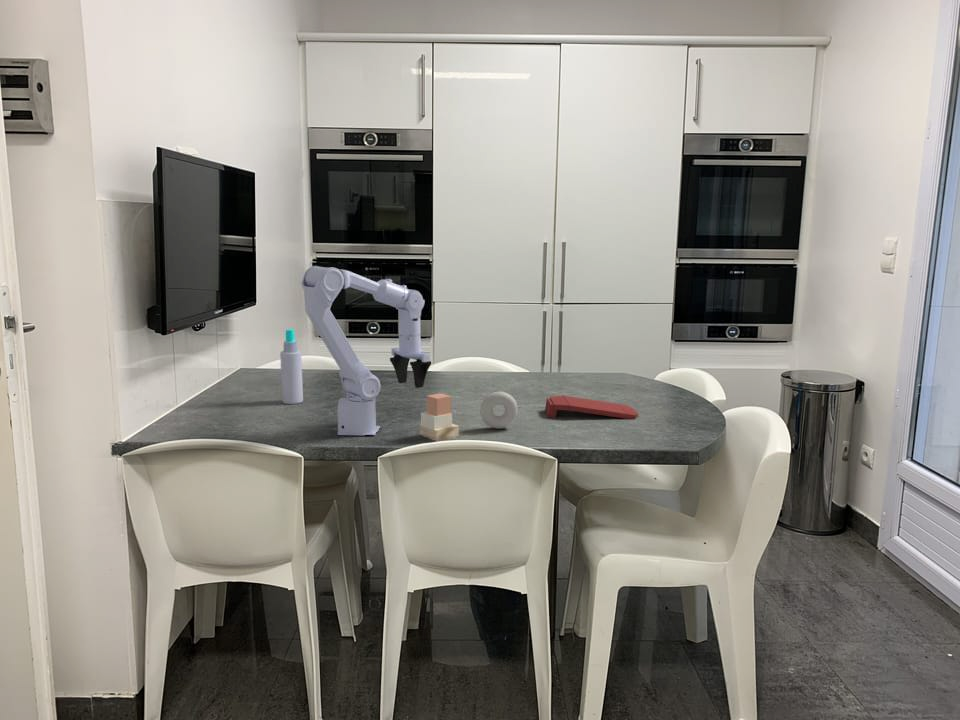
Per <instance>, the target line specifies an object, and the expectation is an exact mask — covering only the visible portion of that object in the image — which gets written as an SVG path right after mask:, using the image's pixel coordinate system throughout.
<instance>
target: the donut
mask: <svg viewBox="0 0 960 720" xmlns="http://www.w3.org/2000/svg"><path fill="white" fill-rule="evenodd" d="M497 405H502V406H503V408H504V412H503V413H502V414H501V415H495V413H494V411H493V410H494V407H495V406H497ZM479 408H480V409H479V414H480V418H481V419H482V421H483V422H484V423H485V424H486V425H487V426H488V427H490V428H492V429H498V430H500V429H504V428H507V427H509V426H511V425H512V423H514V421H515V420H516V418H517V415H518V411H519V408H518V404H517V401H516V399H515V398H514V397H513V396H512V395H511V394H510V393H507V392H505V391H494V392H491V393H489V394H488V395H486V396H485V397H484V398H483V400H482V402H481V404H480V407H479Z"/></svg>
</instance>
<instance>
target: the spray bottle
mask: <svg viewBox="0 0 960 720" xmlns="http://www.w3.org/2000/svg"><path fill="white" fill-rule="evenodd" d="M297 341H298V340H296V339H295V329H291V328H290V329H285V341H283V350H282V351H280V353H279V354H280V355H279V356H280V375H281V377H280V378H281V400H282V403H283V404H286V405H298V404H302V402H304V393H303V392H304V390H303V368H302V366H303V365H302V362H303V361H302V351H301V350H299V349H298V342H297Z"/></svg>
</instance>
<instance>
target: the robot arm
mask: <svg viewBox="0 0 960 720" xmlns="http://www.w3.org/2000/svg"><path fill="white" fill-rule="evenodd" d="M300 284H301V287H302V289H303V295H304V296H303V297H304V309H305V313H306V315H307V317H308V318H309V320H310V321H311V323H312V326H313V327H314V328H315V330H316V331H317V333H318V335H319V336H320V338H321V340H322V342H323V343H324V344H325V345H324V346H326V348H327V350H328V352H329V353H330V354H331V356H332V359H333V360H334V362H335V363H336V365H337V366H338V368H339V372H338V375H339V378H340V379H341V387H342V390H344V392H346V397H340V398H339V399H338V403H337V436H365V435H374V436H375V435H376V434H377V433H378V431H379V430H380V429H381V426H380V425H377V412H376V411H377V407H376V405H377V404H376V399H377V396H378V395H379V393H380V391H381V381H380V379H379V378H378V377H377V376H376V375H374V374H373V373H372V372H371V371H370V369H369V368H368V367H367V366H366V365H364V363H363V362H362V361H361V360H360V359H359V357H358V355H357V353H356V352H355V350H354V349H353V347H352V345H351V343H350V342H349V340H348V338H347V337H346V334H345V333H344V331H343V329H342V328H341V326H340V325H339V323H338V322H337V321H338V320H337V319H336V317H335V316H334V314H333V313H332V311H331V307H332V305H333V302H334V301H335V299H336V298H337V297H338V295H339V294H340V292H341V291H342V289H344V290H346V289H348V288H352V289H355V290H358V291H362V292H364V293H367V294H372V297H373V299H374V301H376V302H379V303H381V304H384V305H388V306H391V307H393V308H395V309H396V310H398V313H397V314H398V315H397V316H398V317H397V318H398V345H399V347H392V348H391V356H393V357H390V358H389V361H390V363H391V364H392V367H393V368H394V372H395V375H396V377H397V381H398V382H397V383H398V384H404V383H407V380H408V368H409V365H410V367H411V369H412V373H413V379H414V380H413V381H414V387H415V388H416V389H419V388H423V387H424V384H425V380H426V376H427V373H428V371H429V368H430V367H431V365H432V361H431V360H430V357H431V356H430V353H427V352H425V351H424V349H422V348H421V347H422V345H421V341H422V340H421V333H422V332H421V316H422V310H423V309H424V306H425V301H426V300H425V299H424V298H423V295H422V294H421V292H420V291H419V290H416V289H409V288H408V287H407V285H405V284H402V285H399V284H396V283H394V282H393V279H391V278H385V279H380V280H378V281H374V280H371V279H370V278H367V277H365V276H362V275H360V274H357V273H354V272H352V271H350V270H346V269H339V268H336V267H333V266H332V267H324V266H318V265H312V266H310V267H309V268H307V269H306V270H305V272H304V274H303V276H302V280H301V283H300ZM411 359H412V360H415V361H410V360H411ZM379 428H380V429H379ZM376 432H377V433H376Z"/></svg>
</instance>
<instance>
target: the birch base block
mask: <svg viewBox="0 0 960 720" xmlns="http://www.w3.org/2000/svg"><path fill="white" fill-rule="evenodd" d="M459 429H460V426H459V425H458V424H454V423H452V426H450V427H445V428H440V429H435V430H434V429H431V428H428V427H425V426H422V425H421V424H419V436H420V435H423V436H426V437H429V438H431V439H435V441H434V442H436V441H437V442H439V441H438V440H441V441H445V439H446V440H448V439H447V438H450V439H452V438H451V437H455V436H459V437H460V434H459V433H460V430H459ZM423 436H422V437H423ZM455 438H456V437H455ZM431 439H430V440H431Z"/></svg>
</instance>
